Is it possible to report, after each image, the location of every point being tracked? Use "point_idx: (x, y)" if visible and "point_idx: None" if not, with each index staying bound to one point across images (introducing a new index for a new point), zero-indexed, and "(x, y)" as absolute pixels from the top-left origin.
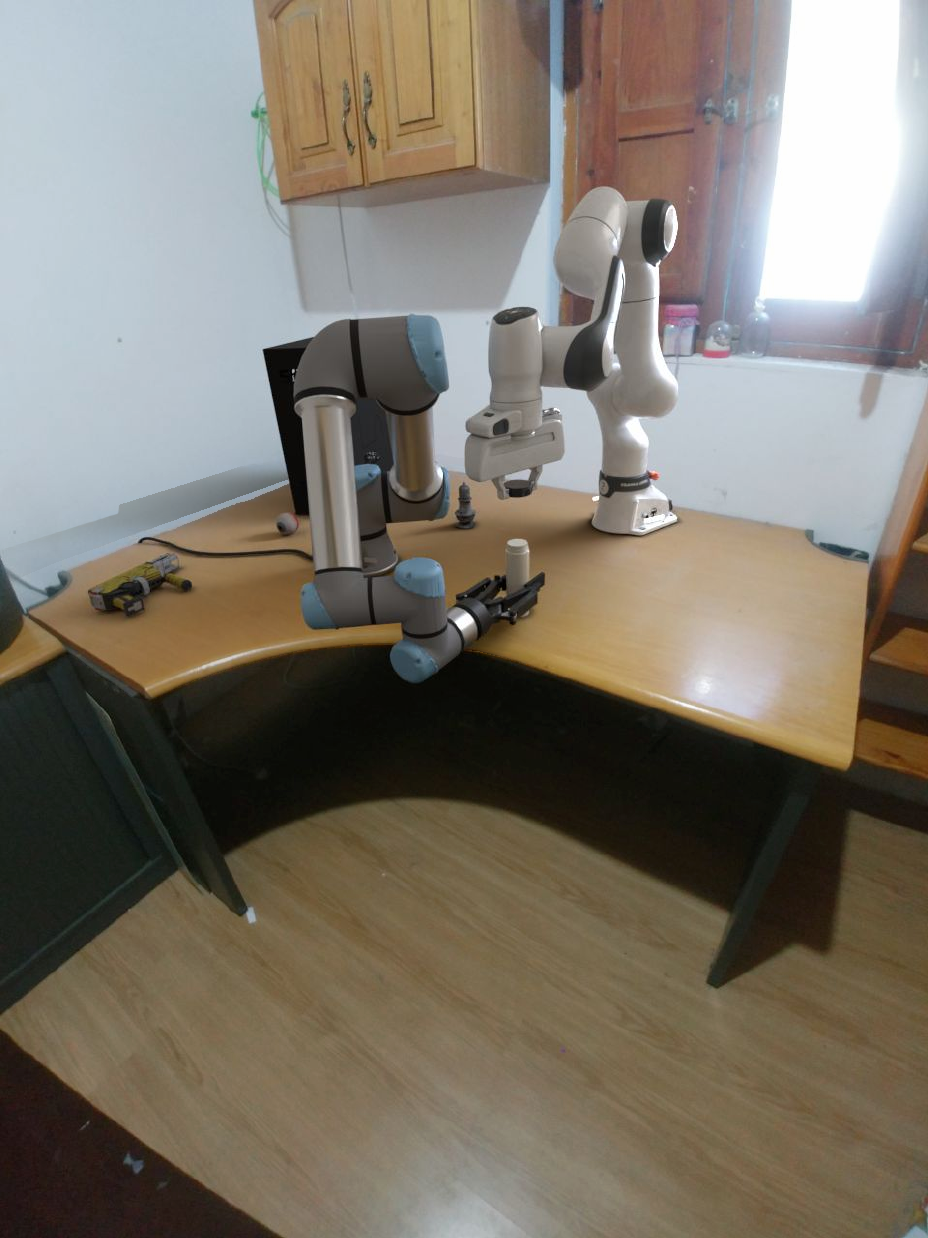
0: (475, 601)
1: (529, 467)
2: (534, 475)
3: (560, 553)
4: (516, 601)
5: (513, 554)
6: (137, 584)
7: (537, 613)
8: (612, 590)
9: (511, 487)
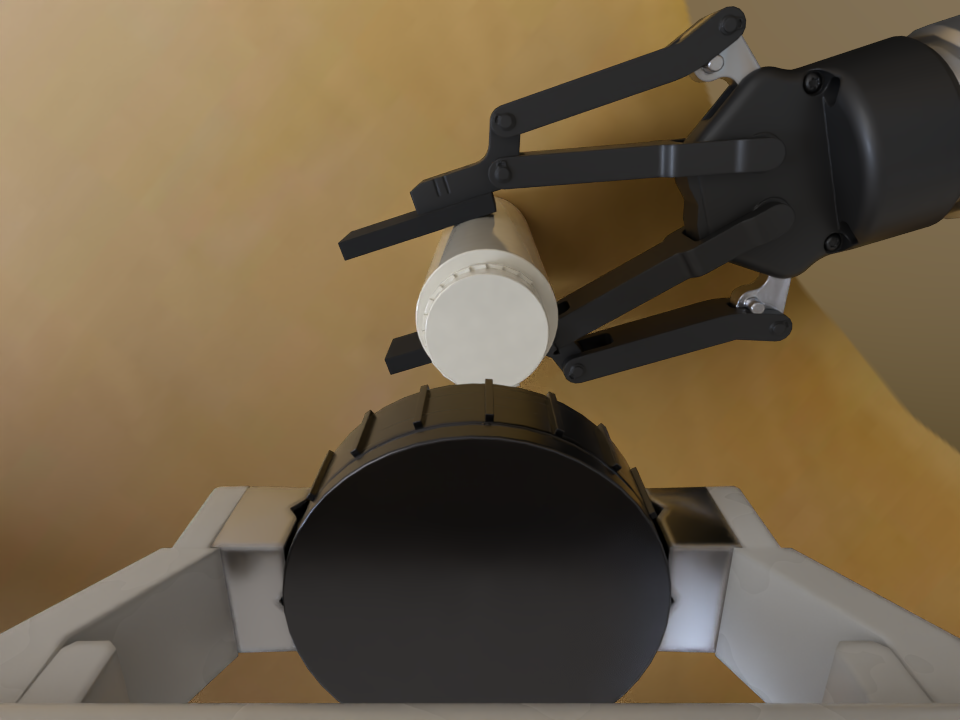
0: (892, 136)
1: (298, 715)
2: (161, 635)
3: (57, 494)
4: (592, 148)
5: (548, 283)
6: None
7: None
8: (54, 123)
9: (639, 557)
